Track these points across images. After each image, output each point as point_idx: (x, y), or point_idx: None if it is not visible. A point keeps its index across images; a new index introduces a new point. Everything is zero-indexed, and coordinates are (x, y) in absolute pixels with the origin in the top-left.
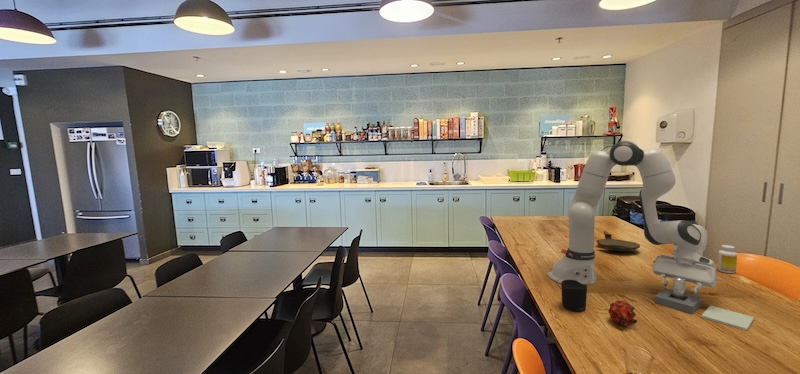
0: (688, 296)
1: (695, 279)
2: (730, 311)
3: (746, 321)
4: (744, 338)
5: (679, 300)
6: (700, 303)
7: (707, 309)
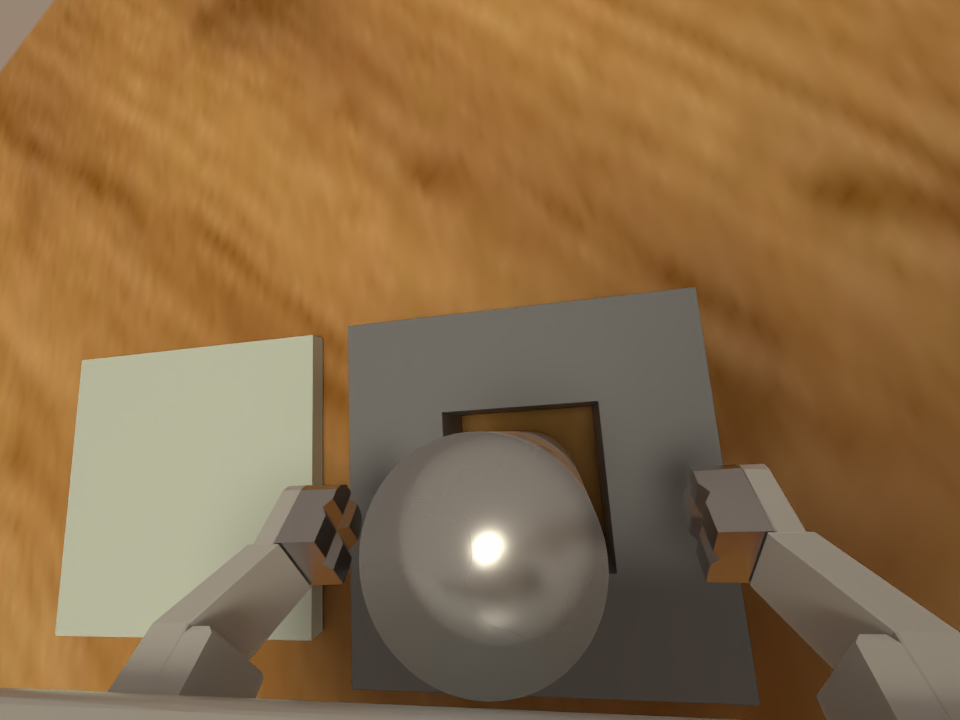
0: None
1: (168, 708)
2: None
3: (88, 493)
4: (106, 239)
5: (476, 383)
6: None
7: None
